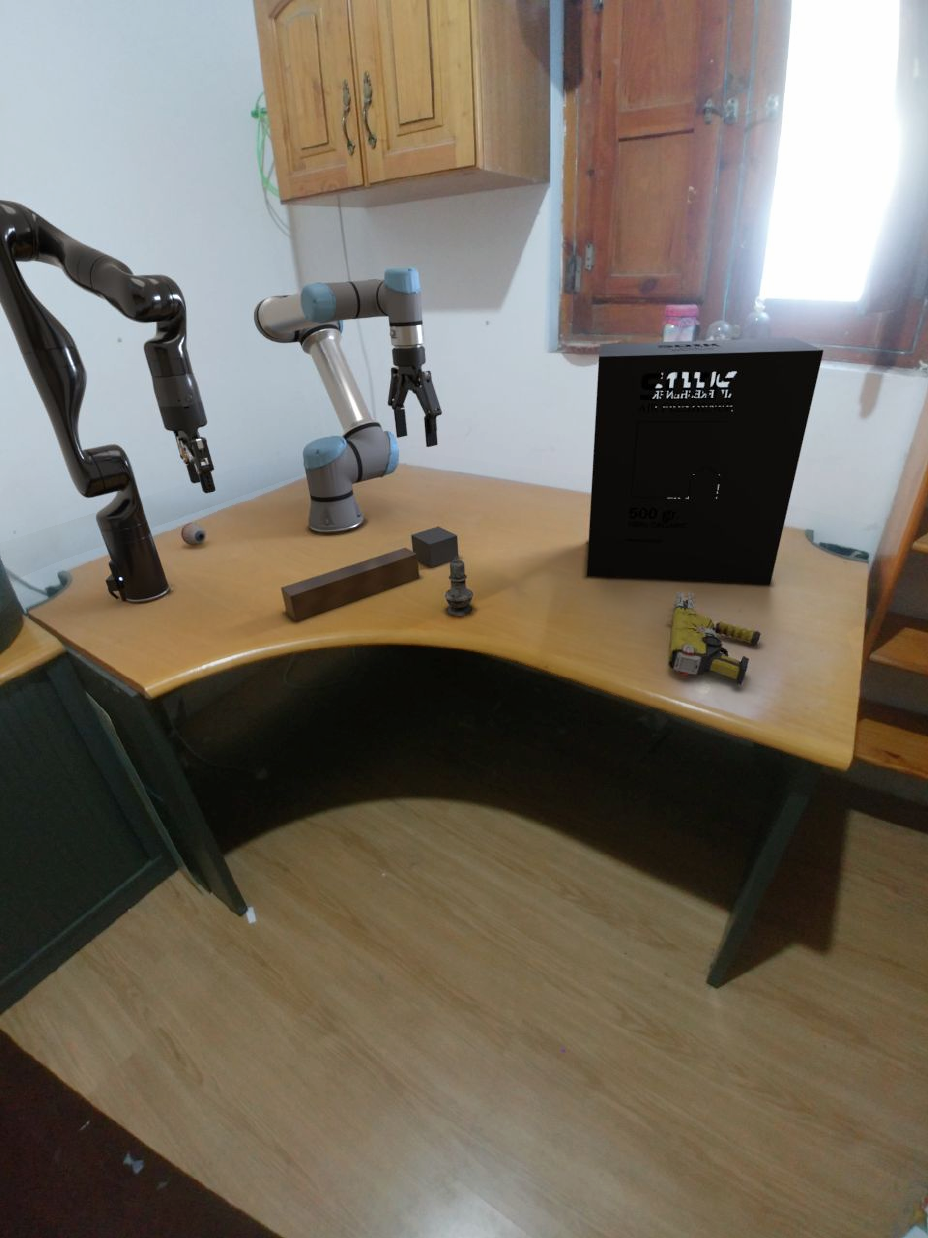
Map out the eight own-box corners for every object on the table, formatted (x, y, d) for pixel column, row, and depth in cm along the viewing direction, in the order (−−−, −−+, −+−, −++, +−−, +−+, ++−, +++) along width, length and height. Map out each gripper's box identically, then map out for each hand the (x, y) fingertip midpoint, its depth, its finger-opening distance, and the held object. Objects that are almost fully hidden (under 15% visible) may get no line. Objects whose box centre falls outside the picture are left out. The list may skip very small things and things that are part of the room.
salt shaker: (471, 617, 120) (468, 562, 114) (442, 615, 121) (438, 561, 115) (476, 603, 125) (474, 550, 119) (449, 601, 126) (445, 549, 120)
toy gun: (759, 604, 113) (676, 588, 117) (772, 670, 93) (671, 649, 97) (752, 625, 115) (671, 610, 119) (763, 695, 95) (665, 673, 99)
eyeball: (194, 551, 158) (188, 529, 155) (180, 546, 161) (173, 525, 158) (213, 542, 162) (208, 521, 159) (199, 539, 165) (192, 518, 162)
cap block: (431, 567, 142) (429, 544, 139) (413, 557, 147) (410, 534, 144) (458, 558, 146) (457, 535, 143) (440, 548, 151) (438, 526, 148)
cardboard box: (751, 546, 143) (793, 337, 120) (770, 584, 126) (823, 350, 103) (589, 540, 150) (600, 343, 128) (586, 576, 133) (598, 356, 111)
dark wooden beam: (295, 622, 123) (290, 596, 120) (286, 613, 126) (280, 587, 123) (419, 578, 137) (417, 553, 134) (408, 571, 141) (405, 547, 138)
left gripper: (149, 399, 113) (174, 483, 121) (167, 408, 103) (193, 500, 111) (190, 393, 117) (212, 475, 125) (211, 402, 107) (234, 491, 115)
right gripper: (367, 345, 144) (378, 435, 154) (424, 351, 126) (432, 453, 136) (394, 341, 147) (403, 430, 158) (453, 347, 129) (458, 446, 140)
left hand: (203, 487), depth 118 cm, fingers open, 8 cm apart
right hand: (416, 441), depth 147 cm, fingers open, 13 cm apart
